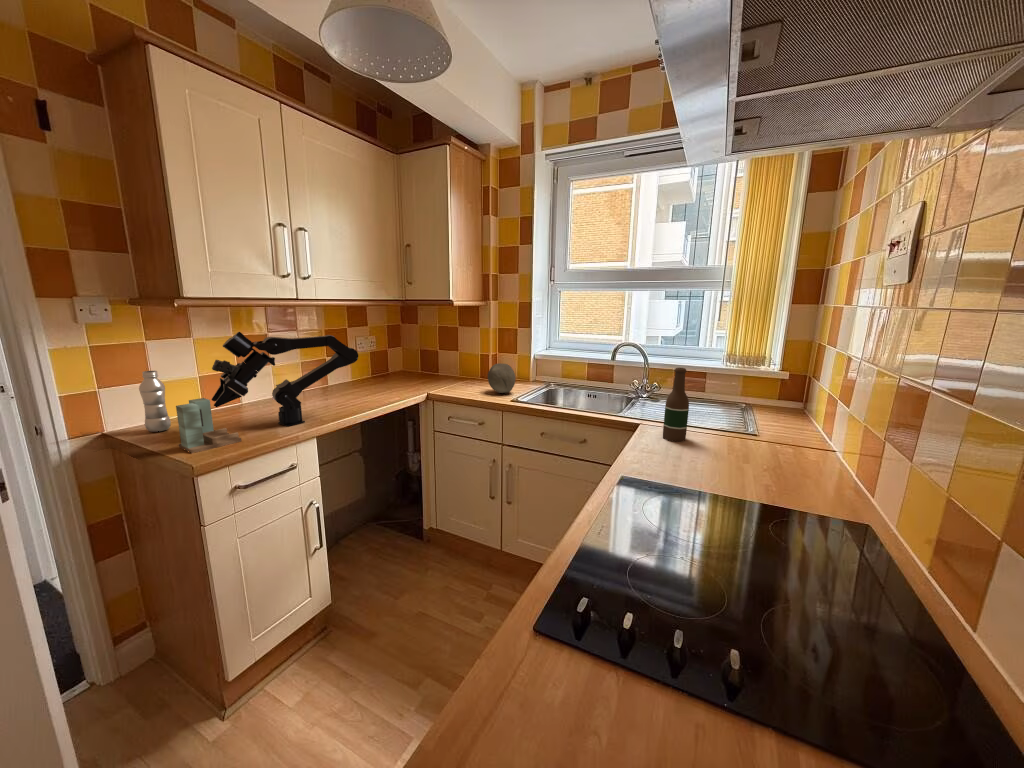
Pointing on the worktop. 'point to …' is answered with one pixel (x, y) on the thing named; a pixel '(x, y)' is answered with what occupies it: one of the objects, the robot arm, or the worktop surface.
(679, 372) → the beer bottle
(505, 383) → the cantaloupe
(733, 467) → the worktop surface
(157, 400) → the plastic bottle
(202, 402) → the block
